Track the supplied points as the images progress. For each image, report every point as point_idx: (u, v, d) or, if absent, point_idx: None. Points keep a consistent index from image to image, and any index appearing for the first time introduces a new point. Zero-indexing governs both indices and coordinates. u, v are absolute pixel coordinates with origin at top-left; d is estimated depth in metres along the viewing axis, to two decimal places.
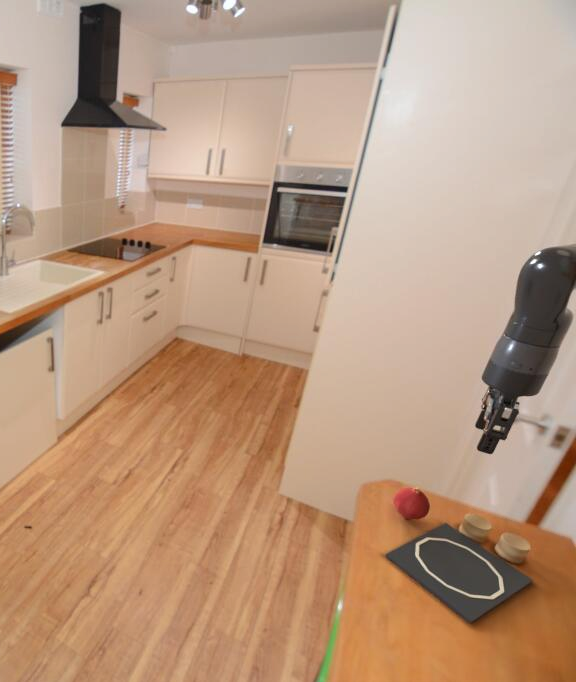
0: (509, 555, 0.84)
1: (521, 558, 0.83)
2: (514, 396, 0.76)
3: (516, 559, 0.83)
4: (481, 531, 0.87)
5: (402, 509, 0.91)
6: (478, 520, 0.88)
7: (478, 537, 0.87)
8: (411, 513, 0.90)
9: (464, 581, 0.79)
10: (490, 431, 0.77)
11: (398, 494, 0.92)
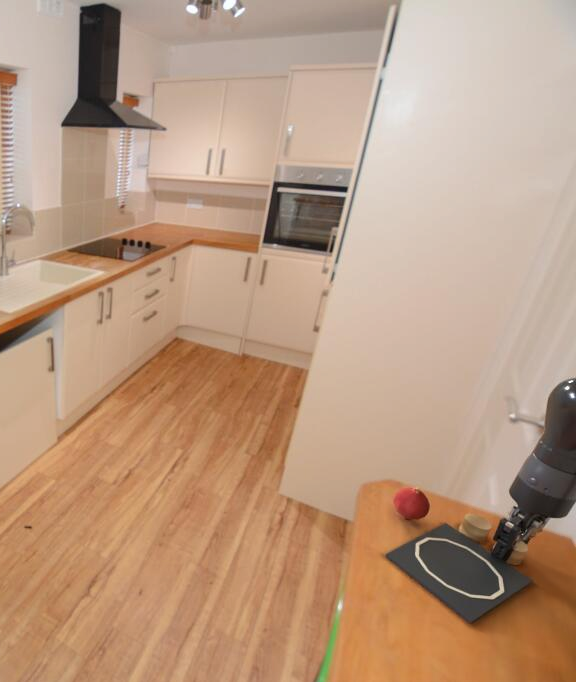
0: None
1: (519, 560, 0.83)
2: (528, 511, 0.78)
3: (514, 561, 0.83)
4: (481, 531, 0.87)
5: (402, 509, 0.91)
6: (478, 520, 0.88)
7: (478, 537, 0.87)
8: (411, 513, 0.90)
9: (464, 581, 0.79)
10: (496, 537, 0.81)
11: (398, 494, 0.92)
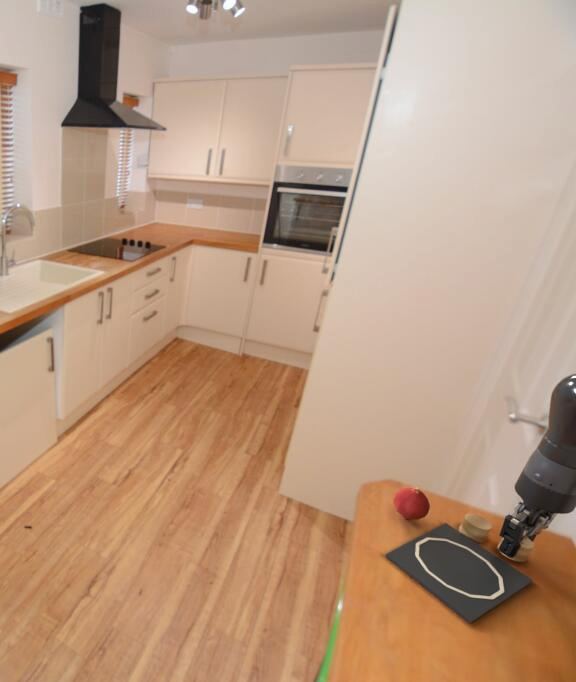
0: None
1: (524, 556, 0.83)
2: (534, 507, 0.78)
3: (519, 557, 0.83)
4: (481, 531, 0.87)
5: (402, 509, 0.91)
6: (478, 520, 0.88)
7: (478, 537, 0.87)
8: (411, 513, 0.90)
9: (464, 581, 0.79)
10: None
11: (398, 494, 0.92)
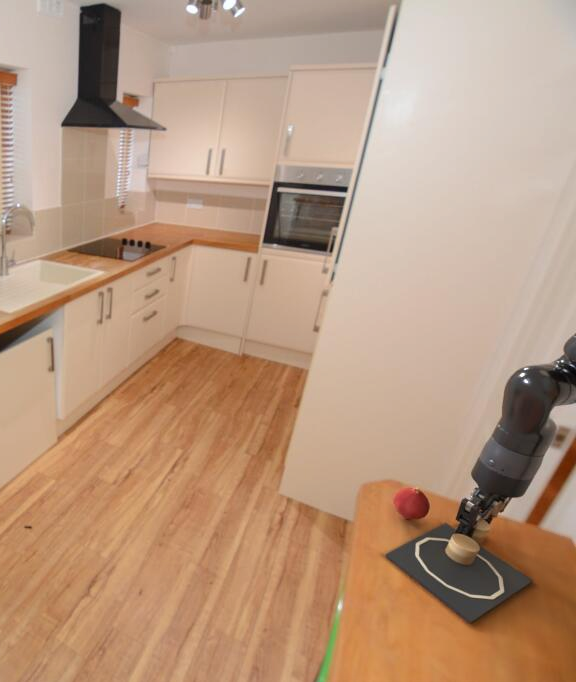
0: None
1: (450, 551, 0.83)
2: (487, 492, 0.82)
3: (447, 549, 0.84)
4: (479, 532, 0.86)
5: (402, 509, 0.91)
6: None
7: (476, 538, 0.87)
8: (411, 513, 0.90)
9: (464, 581, 0.79)
10: (458, 516, 0.85)
11: (398, 494, 0.92)
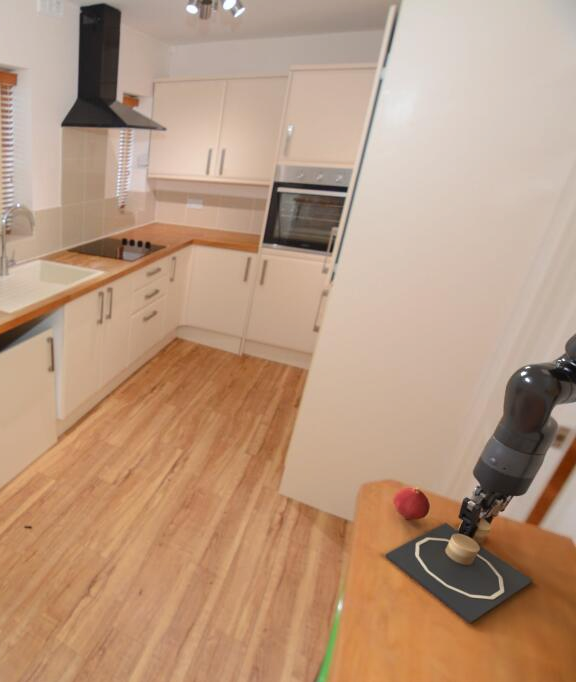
0: None
1: (450, 551, 0.83)
2: (489, 490, 0.82)
3: (447, 549, 0.84)
4: (480, 532, 0.86)
5: (402, 509, 0.91)
6: None
7: (477, 538, 0.87)
8: (411, 513, 0.90)
9: (464, 581, 0.79)
10: (461, 515, 0.86)
11: (398, 494, 0.92)
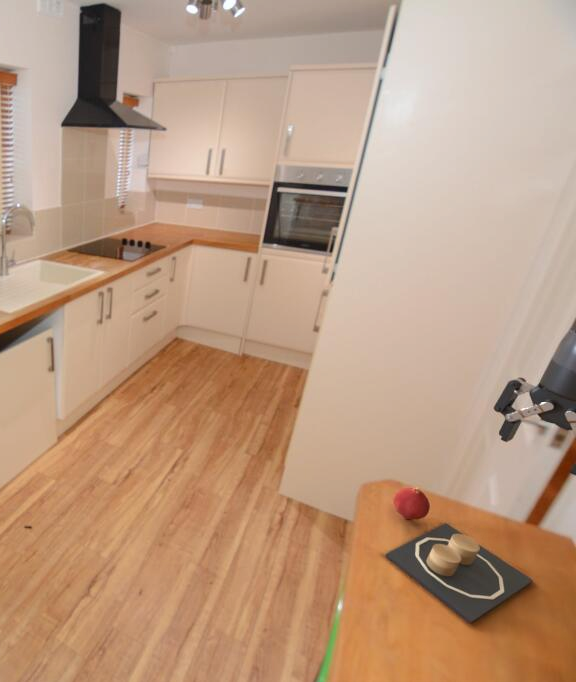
0: None
1: None
2: None
3: None
4: (432, 552, 0.82)
5: (402, 509, 0.91)
6: (448, 553, 0.80)
7: (429, 558, 0.82)
8: (411, 513, 0.90)
9: (464, 581, 0.79)
10: None
11: (398, 494, 0.92)
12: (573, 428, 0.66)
